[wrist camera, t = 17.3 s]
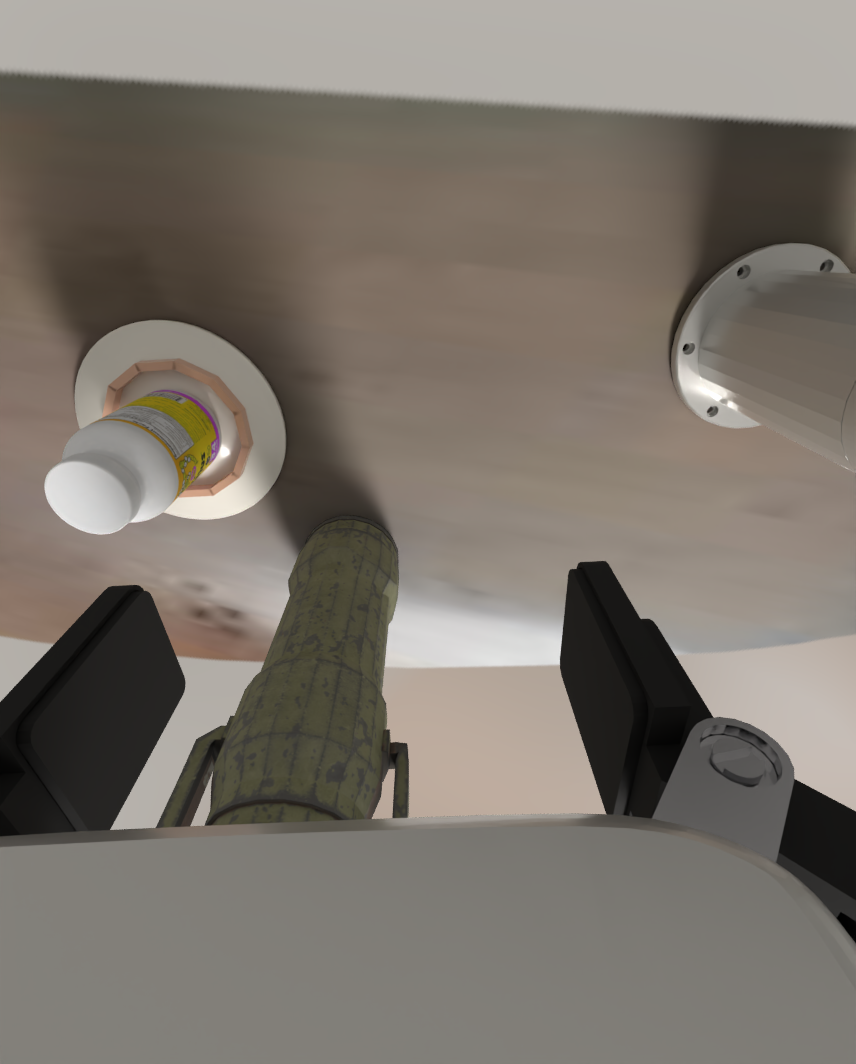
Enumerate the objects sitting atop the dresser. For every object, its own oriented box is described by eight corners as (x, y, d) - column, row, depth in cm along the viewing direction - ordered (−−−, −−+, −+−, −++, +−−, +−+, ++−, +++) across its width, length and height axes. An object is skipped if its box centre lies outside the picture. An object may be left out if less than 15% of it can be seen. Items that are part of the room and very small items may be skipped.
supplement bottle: (185, 483, 42) (98, 568, 31) (120, 419, 39) (-2, 487, 28) (243, 438, 40) (172, 511, 29) (178, 368, 37) (72, 419, 26)
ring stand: (262, 312, 36) (256, 315, 35) (302, 511, 44) (298, 519, 42) (43, 326, 36) (28, 329, 35) (122, 520, 44) (112, 529, 43)
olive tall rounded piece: (279, 515, 44) (-47, 1115, 14) (413, 513, 44) (390, 1108, 14) (293, 596, 48) (71, 1189, 18) (416, 595, 48) (403, 1184, 18)
